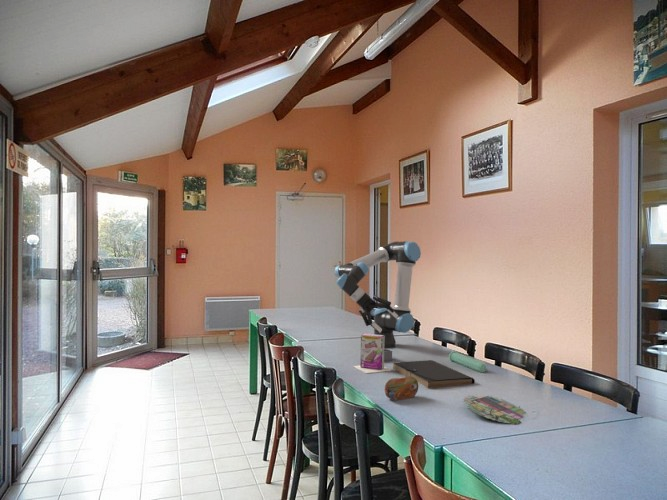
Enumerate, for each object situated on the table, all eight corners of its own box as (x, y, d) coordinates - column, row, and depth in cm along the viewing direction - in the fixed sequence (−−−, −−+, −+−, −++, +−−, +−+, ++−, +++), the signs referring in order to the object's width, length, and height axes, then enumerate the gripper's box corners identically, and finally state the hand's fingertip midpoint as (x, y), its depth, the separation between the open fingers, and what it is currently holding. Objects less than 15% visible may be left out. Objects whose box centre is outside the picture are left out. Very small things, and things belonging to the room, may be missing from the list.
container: (486, 360, 223) (456, 348, 247) (477, 365, 221) (447, 353, 245) (490, 371, 224) (459, 358, 247) (481, 376, 222) (450, 363, 246)
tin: (387, 402, 178) (388, 380, 178) (383, 399, 181) (383, 378, 181) (418, 396, 185) (419, 376, 185) (414, 394, 188) (414, 374, 188)
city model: (522, 438, 151) (525, 420, 151) (453, 415, 163) (455, 398, 163) (533, 416, 172) (536, 400, 172) (471, 397, 185) (473, 382, 184)
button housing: (382, 356, 254) (382, 347, 254) (392, 360, 245) (392, 351, 245) (366, 357, 250) (366, 348, 250) (375, 362, 241) (375, 352, 241)
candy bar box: (360, 367, 228) (360, 334, 227) (362, 365, 232) (363, 333, 232) (382, 370, 224) (382, 336, 224) (384, 367, 228) (384, 334, 228)
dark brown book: (392, 362, 227) (434, 359, 235) (392, 370, 227) (434, 367, 235) (427, 380, 196) (474, 376, 204) (427, 389, 196) (474, 385, 204)
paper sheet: (377, 364, 237) (377, 363, 237) (391, 370, 224) (391, 370, 224) (353, 366, 232) (353, 365, 232) (366, 373, 219) (366, 372, 219)
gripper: (344, 313, 252) (372, 340, 251) (372, 286, 239) (402, 314, 238) (349, 307, 258) (376, 333, 257) (376, 280, 245) (405, 307, 244)
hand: (389, 324), depth 248 cm, fingers open, 13 cm apart
